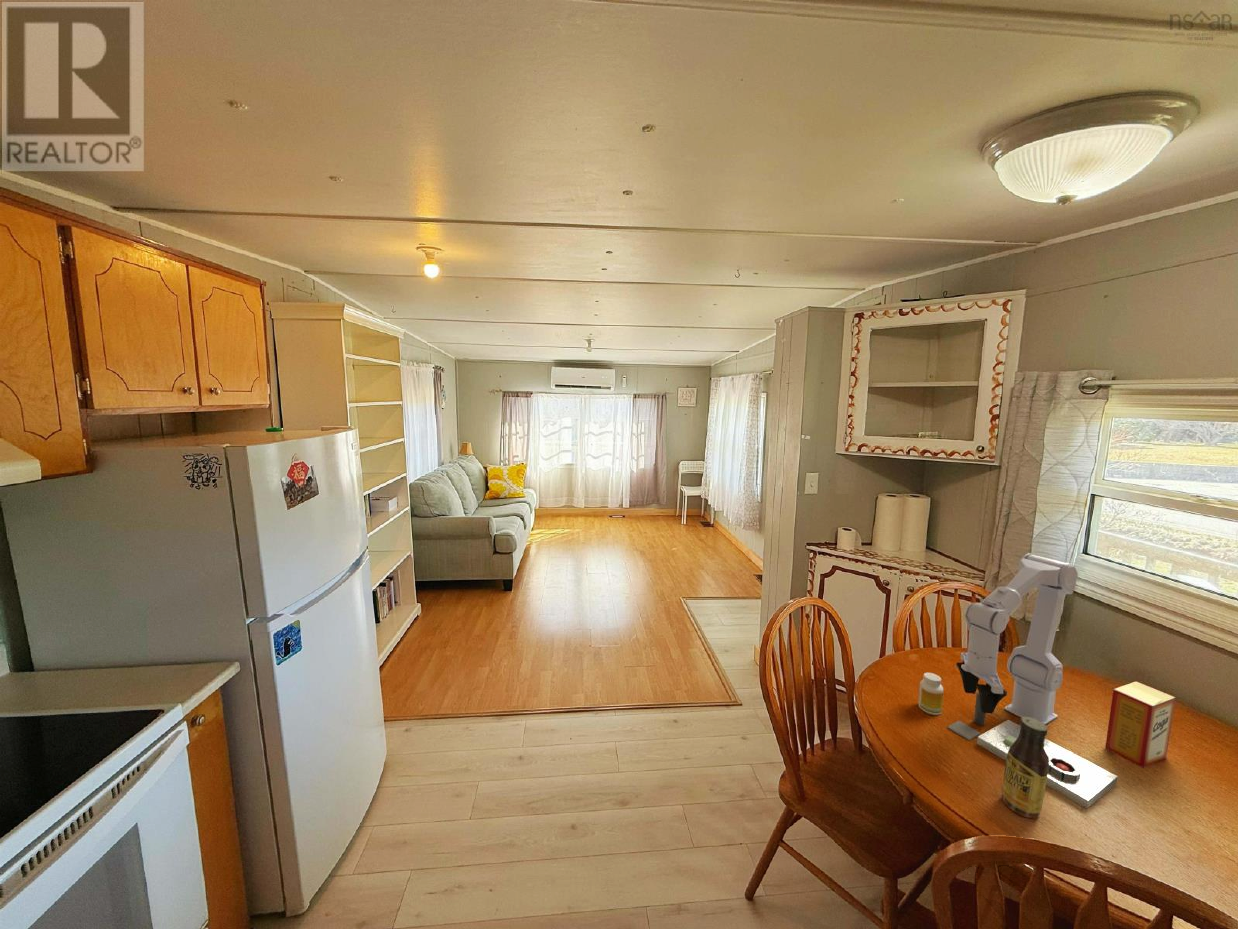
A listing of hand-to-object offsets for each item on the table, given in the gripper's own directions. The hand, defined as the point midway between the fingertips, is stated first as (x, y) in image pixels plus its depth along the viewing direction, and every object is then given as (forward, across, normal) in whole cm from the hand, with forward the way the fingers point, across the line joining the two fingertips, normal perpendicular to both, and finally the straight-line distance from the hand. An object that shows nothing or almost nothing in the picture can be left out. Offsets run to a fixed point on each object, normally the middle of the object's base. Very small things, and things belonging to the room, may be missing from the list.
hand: (978, 702), depth 112 cm
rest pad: (+10, -2, -2) cm, 10 cm away
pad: (+8, +4, +6) cm, 11 cm away
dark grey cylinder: (+10, -6, +4) cm, 12 cm away
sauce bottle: (+10, +21, -2) cm, 23 cm away
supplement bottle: (+10, -10, -6) cm, 15 cm away
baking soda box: (+10, -2, +35) cm, 36 cm away
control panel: (+10, +6, +11) cm, 16 cm away
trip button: (+8, +11, +12) cm, 18 cm away
